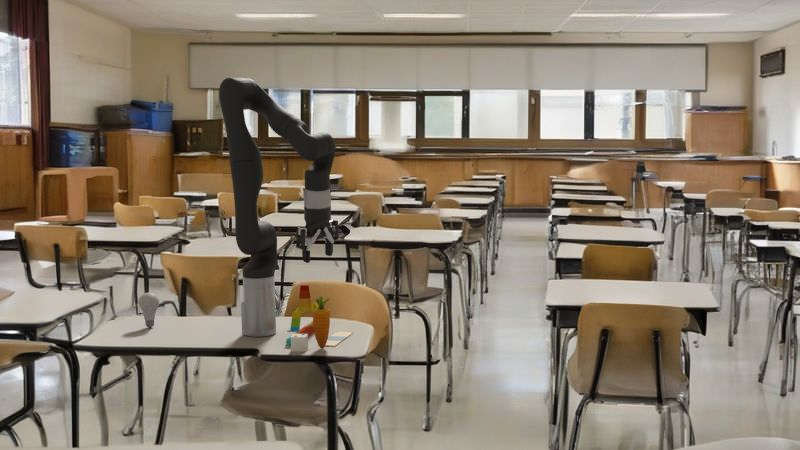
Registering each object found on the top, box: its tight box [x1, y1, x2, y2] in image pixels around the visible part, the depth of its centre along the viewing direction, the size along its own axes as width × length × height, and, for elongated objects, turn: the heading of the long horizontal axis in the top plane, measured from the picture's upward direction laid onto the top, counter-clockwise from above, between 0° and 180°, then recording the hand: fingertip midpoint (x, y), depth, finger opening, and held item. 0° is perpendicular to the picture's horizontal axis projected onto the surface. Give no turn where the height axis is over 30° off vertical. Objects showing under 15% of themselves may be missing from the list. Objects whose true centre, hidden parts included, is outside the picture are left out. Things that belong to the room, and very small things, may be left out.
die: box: [290, 333, 309, 352], centre depth 257 cm, size 4×4×4 cm
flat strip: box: [317, 331, 354, 347], centre depth 268 cm, size 5×16×1 cm, turn 165°
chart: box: [285, 284, 319, 346], centre depth 277 cm, size 30×3×15 cm, turn 168°
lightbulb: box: [138, 292, 160, 329], centre depth 287 cm, size 6×6×11 cm
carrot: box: [312, 295, 331, 350], centre depth 256 cm, size 5×5×15 cm
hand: (317, 258), depth 268 cm, fingers open, 8 cm apart
